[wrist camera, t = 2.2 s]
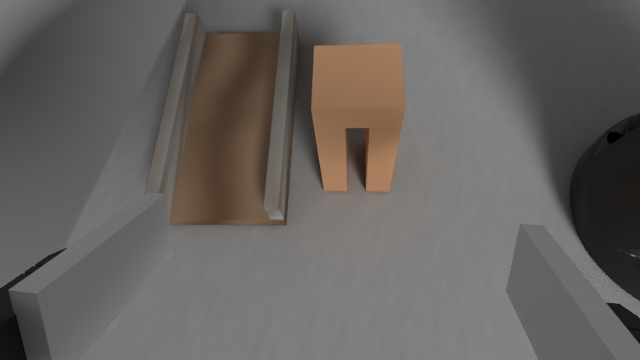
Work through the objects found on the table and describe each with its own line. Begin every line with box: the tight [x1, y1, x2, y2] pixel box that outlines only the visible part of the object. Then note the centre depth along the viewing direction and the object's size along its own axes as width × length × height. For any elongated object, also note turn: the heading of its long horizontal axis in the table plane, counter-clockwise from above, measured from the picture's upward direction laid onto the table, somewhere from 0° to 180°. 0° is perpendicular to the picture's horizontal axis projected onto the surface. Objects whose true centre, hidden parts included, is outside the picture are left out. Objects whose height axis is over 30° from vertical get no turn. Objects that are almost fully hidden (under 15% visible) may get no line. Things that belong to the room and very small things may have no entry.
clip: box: [311, 44, 405, 191], centre depth 29 cm, size 5×4×11 cm
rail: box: [145, 10, 299, 225], centre depth 34 cm, size 10×18×4 cm, turn 179°
